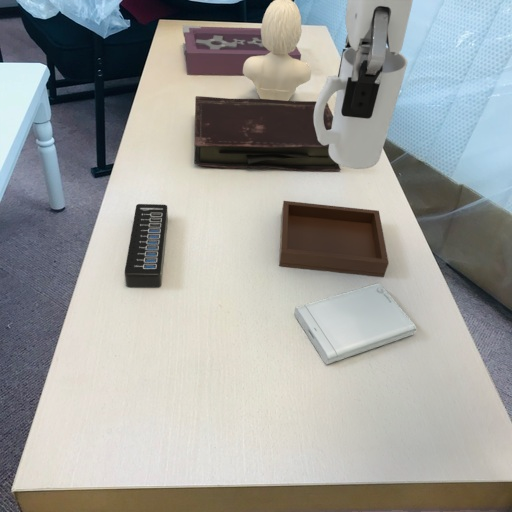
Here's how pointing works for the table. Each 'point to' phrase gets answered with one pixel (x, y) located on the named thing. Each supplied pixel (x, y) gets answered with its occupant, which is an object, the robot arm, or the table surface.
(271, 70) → the figurine
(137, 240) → the multiport hub
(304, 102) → the diary
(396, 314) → the hard drive
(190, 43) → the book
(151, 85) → the table surface
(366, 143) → the mug
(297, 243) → the shallow brown tray
